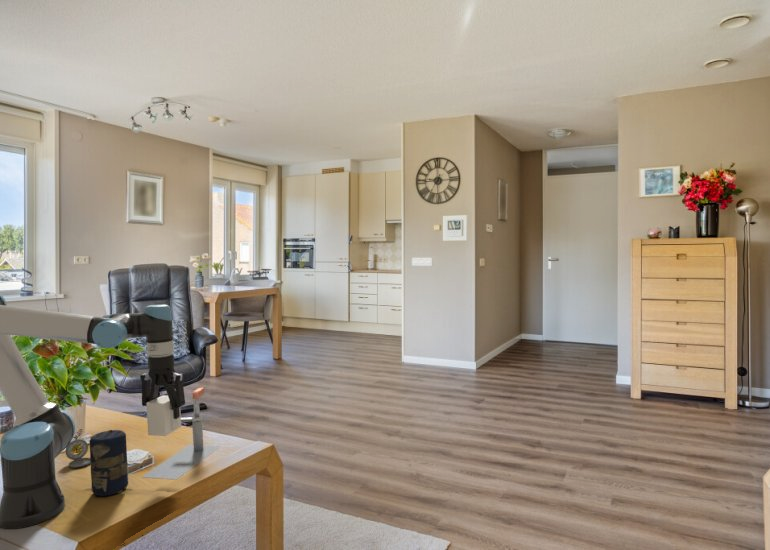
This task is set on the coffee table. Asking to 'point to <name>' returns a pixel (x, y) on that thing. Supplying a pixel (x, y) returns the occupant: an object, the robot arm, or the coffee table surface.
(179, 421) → the white block
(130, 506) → the coffee table surface
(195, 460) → the gray post stand
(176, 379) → the robot arm
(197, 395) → the multicoloured piece
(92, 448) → the canister
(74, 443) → the pocket watch
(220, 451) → the coffee table surface
